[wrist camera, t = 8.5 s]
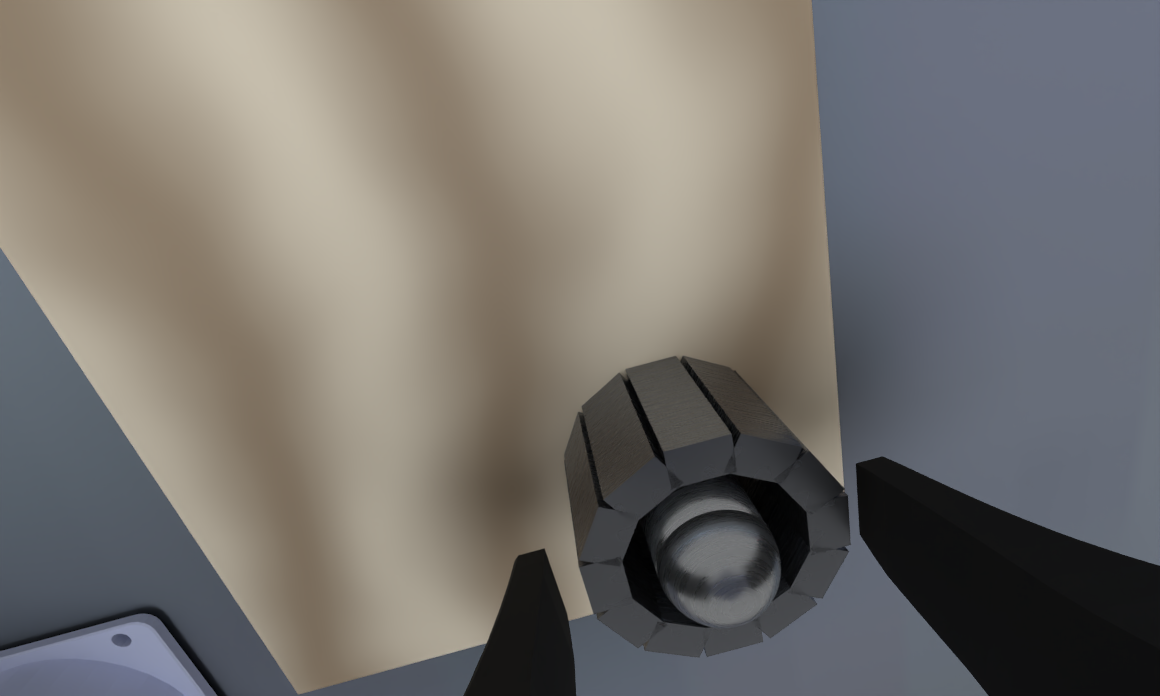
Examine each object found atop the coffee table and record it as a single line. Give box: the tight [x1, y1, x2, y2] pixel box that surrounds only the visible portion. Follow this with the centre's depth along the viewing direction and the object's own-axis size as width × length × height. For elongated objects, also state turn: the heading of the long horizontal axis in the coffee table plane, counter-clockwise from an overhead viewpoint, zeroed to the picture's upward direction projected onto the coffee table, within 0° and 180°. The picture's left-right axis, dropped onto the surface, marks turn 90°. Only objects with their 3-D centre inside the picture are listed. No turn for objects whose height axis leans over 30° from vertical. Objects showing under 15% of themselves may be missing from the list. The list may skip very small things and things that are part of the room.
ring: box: [564, 356, 851, 657], centre depth 13 cm, size 6×6×4 cm
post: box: [640, 473, 781, 628], centre depth 13 cm, size 3×3×5 cm
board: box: [0, 0, 844, 694], centre depth 14 cm, size 18×20×1 cm
